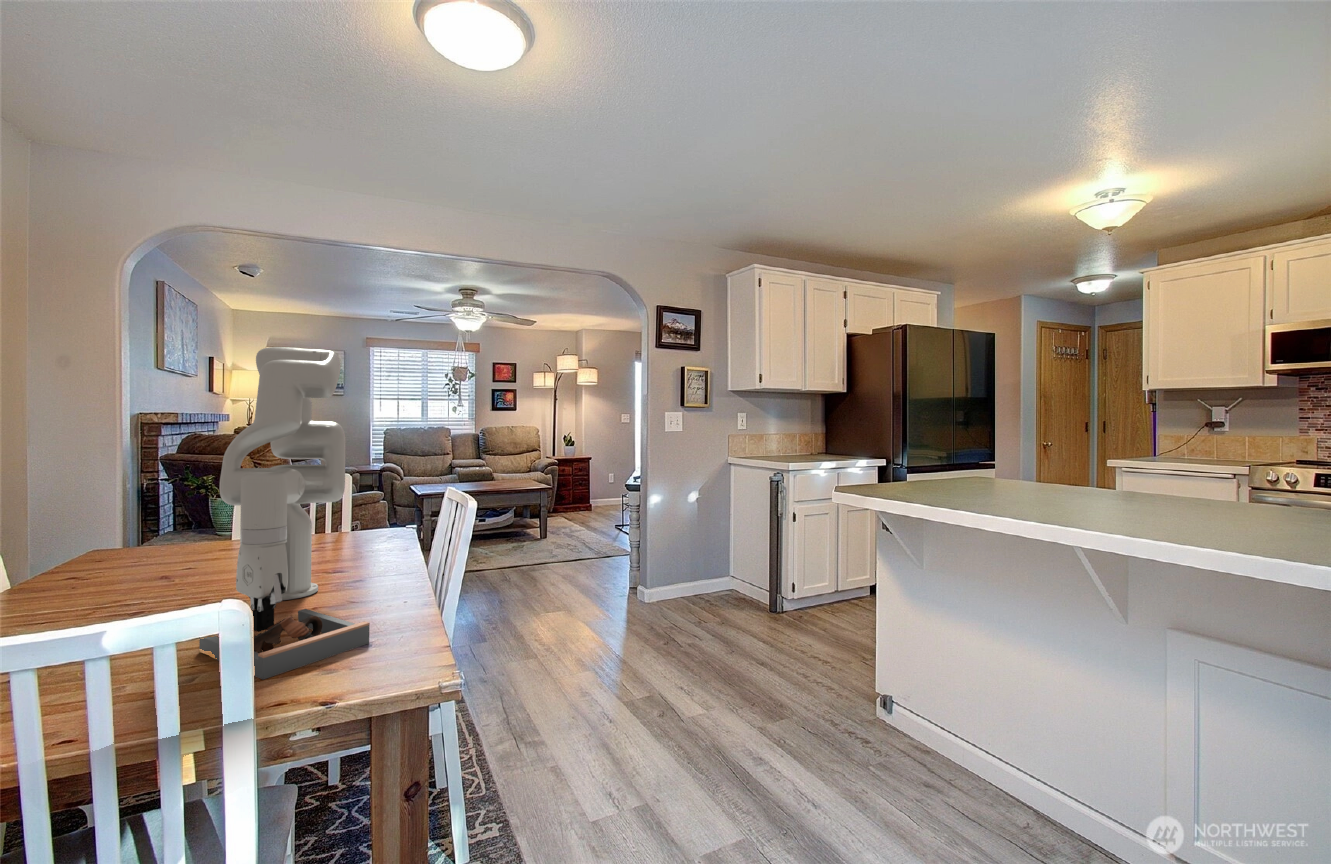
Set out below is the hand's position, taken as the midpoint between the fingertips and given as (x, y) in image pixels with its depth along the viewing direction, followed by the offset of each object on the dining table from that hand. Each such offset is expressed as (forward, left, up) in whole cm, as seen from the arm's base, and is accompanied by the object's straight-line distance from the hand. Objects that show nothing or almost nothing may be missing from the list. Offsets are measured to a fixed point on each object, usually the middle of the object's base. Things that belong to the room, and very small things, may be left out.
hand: (263, 629), depth 115 cm
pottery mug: (+13, -2, -2) cm, 13 cm away
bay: (+8, 0, -2) cm, 8 cm away
